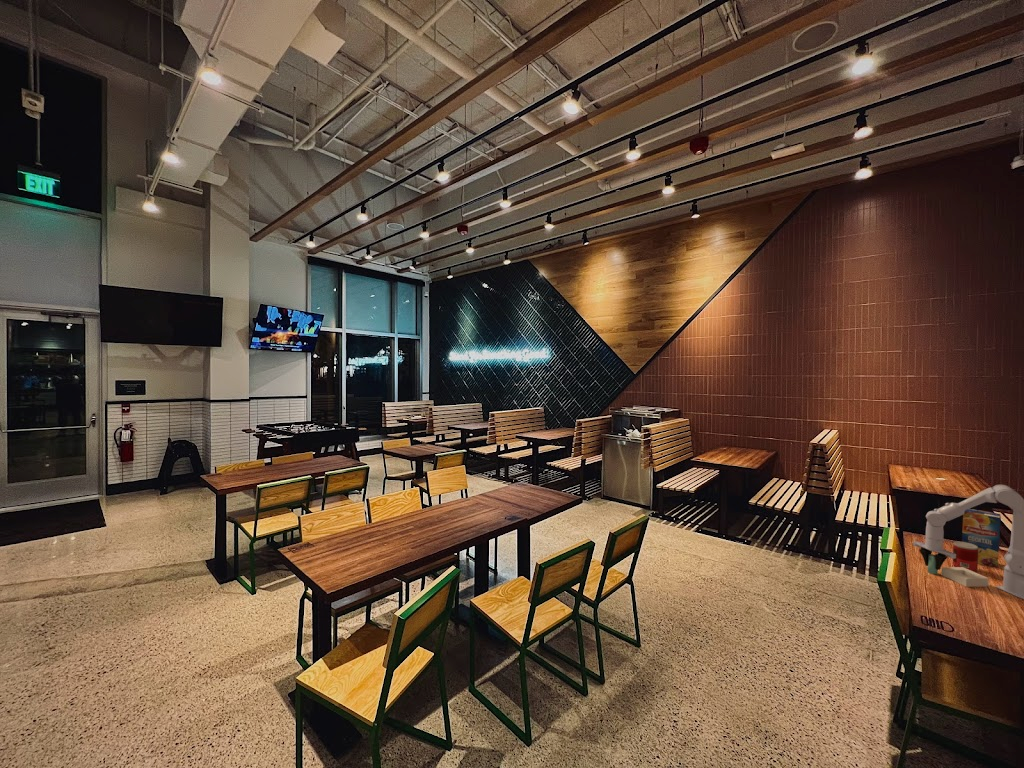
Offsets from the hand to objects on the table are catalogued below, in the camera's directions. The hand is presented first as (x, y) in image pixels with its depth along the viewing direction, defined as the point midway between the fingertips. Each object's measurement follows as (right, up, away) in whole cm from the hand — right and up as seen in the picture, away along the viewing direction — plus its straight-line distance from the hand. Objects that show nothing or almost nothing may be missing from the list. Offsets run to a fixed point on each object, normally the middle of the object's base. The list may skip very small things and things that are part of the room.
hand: (932, 567), depth 192 cm
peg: (0, -3, 0) cm, 3 cm away
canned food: (+20, -3, +5) cm, 21 cm away
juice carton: (+34, -2, +11) cm, 36 cm away
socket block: (+7, -3, -7) cm, 10 cm away
